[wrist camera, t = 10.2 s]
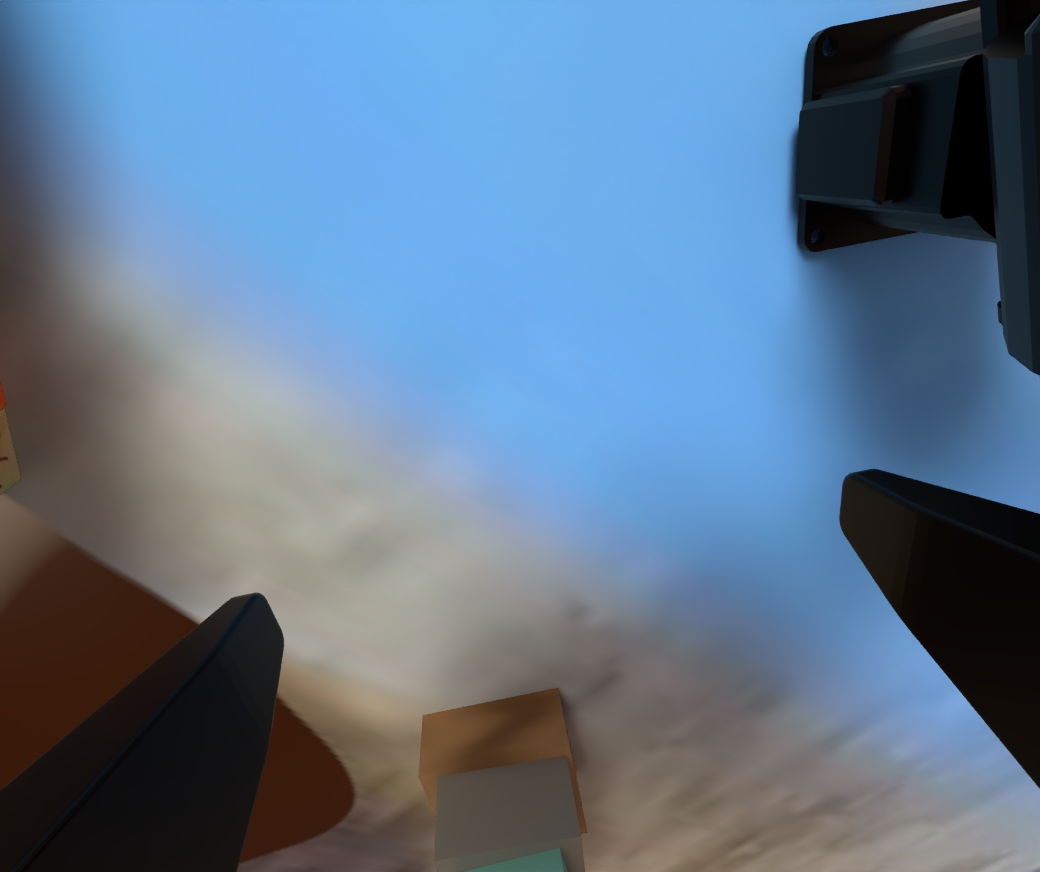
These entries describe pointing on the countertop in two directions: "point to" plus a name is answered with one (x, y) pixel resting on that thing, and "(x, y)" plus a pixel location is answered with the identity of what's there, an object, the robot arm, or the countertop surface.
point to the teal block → (529, 863)
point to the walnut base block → (495, 739)
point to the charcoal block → (506, 815)
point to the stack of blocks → (6, 452)
